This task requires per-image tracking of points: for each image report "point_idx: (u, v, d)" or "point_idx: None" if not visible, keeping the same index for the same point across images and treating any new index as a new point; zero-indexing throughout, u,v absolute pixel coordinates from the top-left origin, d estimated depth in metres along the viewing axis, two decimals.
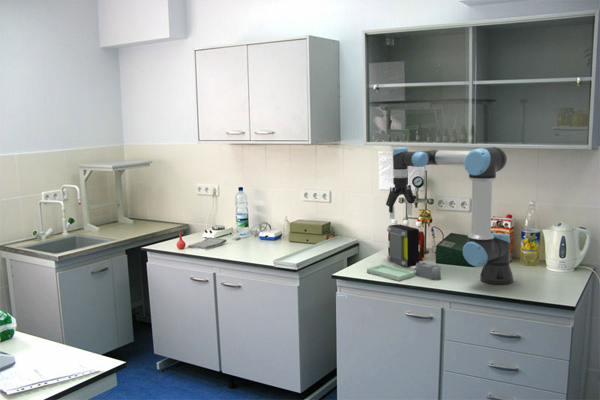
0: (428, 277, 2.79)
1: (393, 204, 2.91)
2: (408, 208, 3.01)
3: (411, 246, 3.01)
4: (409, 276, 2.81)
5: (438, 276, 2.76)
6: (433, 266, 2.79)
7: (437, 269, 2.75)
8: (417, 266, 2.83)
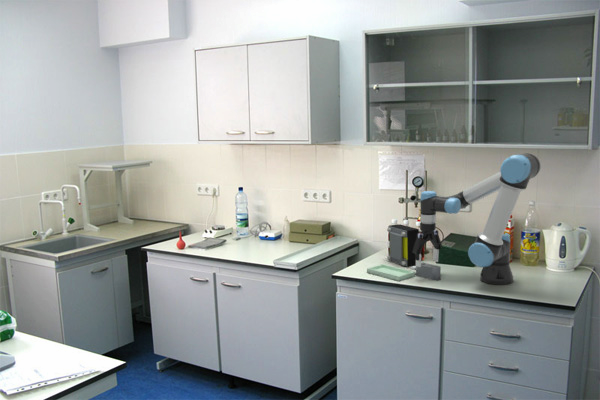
0: (428, 277, 2.79)
1: (420, 251, 2.75)
2: (434, 254, 2.85)
3: (411, 246, 3.01)
4: (409, 276, 2.81)
5: (438, 276, 2.76)
6: (433, 266, 2.79)
7: (437, 269, 2.75)
8: None
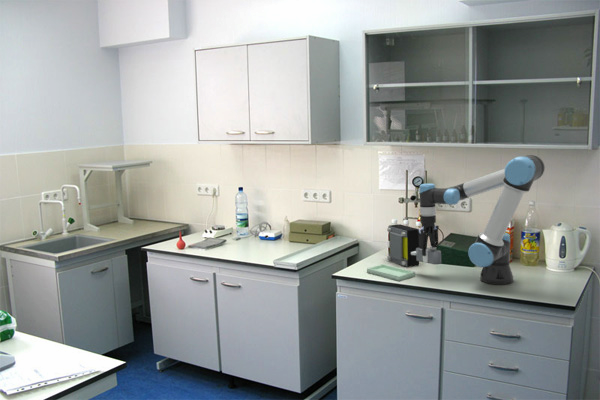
0: (429, 261, 2.77)
1: (426, 246, 2.76)
2: None
3: (411, 246, 3.01)
4: (409, 276, 2.81)
5: (438, 260, 2.75)
6: (433, 250, 2.77)
7: (437, 253, 2.74)
8: (417, 251, 2.82)
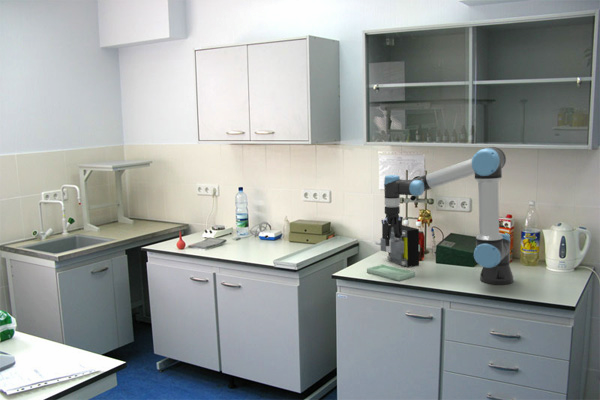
0: (391, 252, 2.82)
1: (389, 237, 2.81)
2: None
3: (411, 246, 3.01)
4: (409, 276, 2.81)
5: (401, 250, 2.79)
6: (397, 241, 2.82)
7: (400, 244, 2.79)
8: (381, 241, 2.87)
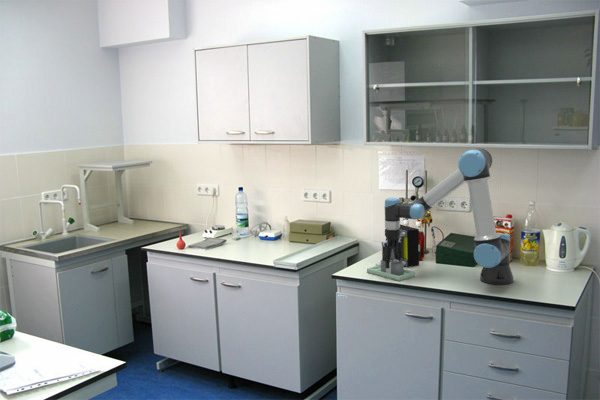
0: None
1: (389, 259, 2.83)
2: None
3: (411, 246, 3.01)
4: (409, 276, 2.81)
5: (401, 272, 2.81)
6: (396, 263, 2.84)
7: (400, 266, 2.81)
8: (381, 263, 2.89)
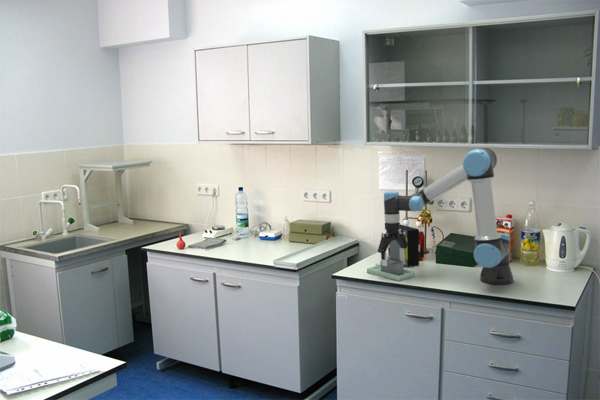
0: None
1: (385, 251, 2.80)
2: (401, 253, 2.89)
3: (411, 246, 3.01)
4: (409, 276, 2.81)
5: (401, 272, 2.81)
6: (396, 263, 2.84)
7: (400, 266, 2.81)
8: (381, 263, 2.89)
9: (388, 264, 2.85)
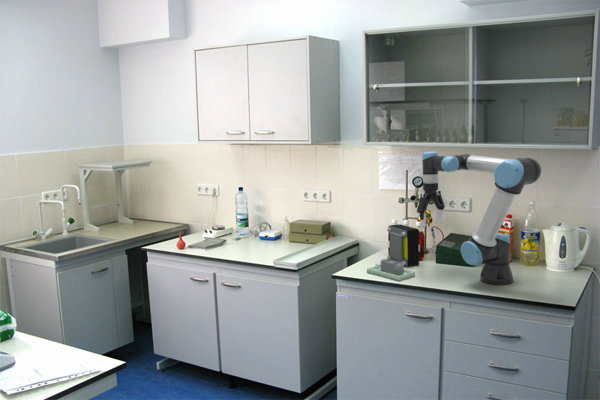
0: None
1: (424, 211, 2.79)
2: (438, 215, 2.90)
3: (411, 246, 3.01)
4: (409, 276, 2.81)
5: (401, 272, 2.81)
6: (396, 263, 2.84)
7: (400, 266, 2.81)
8: (381, 263, 2.89)
9: (388, 264, 2.85)
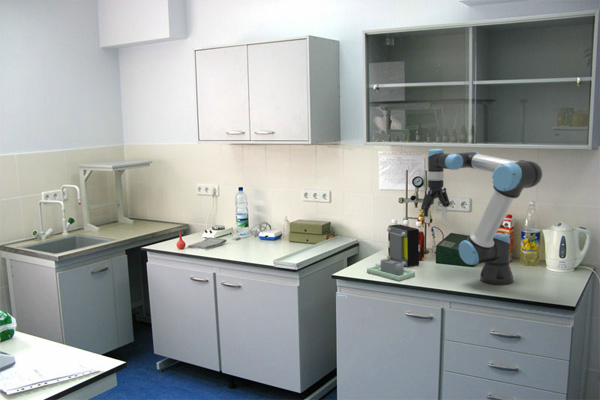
0: None
1: (428, 208, 2.80)
2: (443, 212, 2.90)
3: (411, 246, 3.01)
4: (409, 276, 2.81)
5: (401, 272, 2.81)
6: (396, 263, 2.84)
7: (400, 266, 2.81)
8: (381, 263, 2.89)
9: (388, 264, 2.85)
